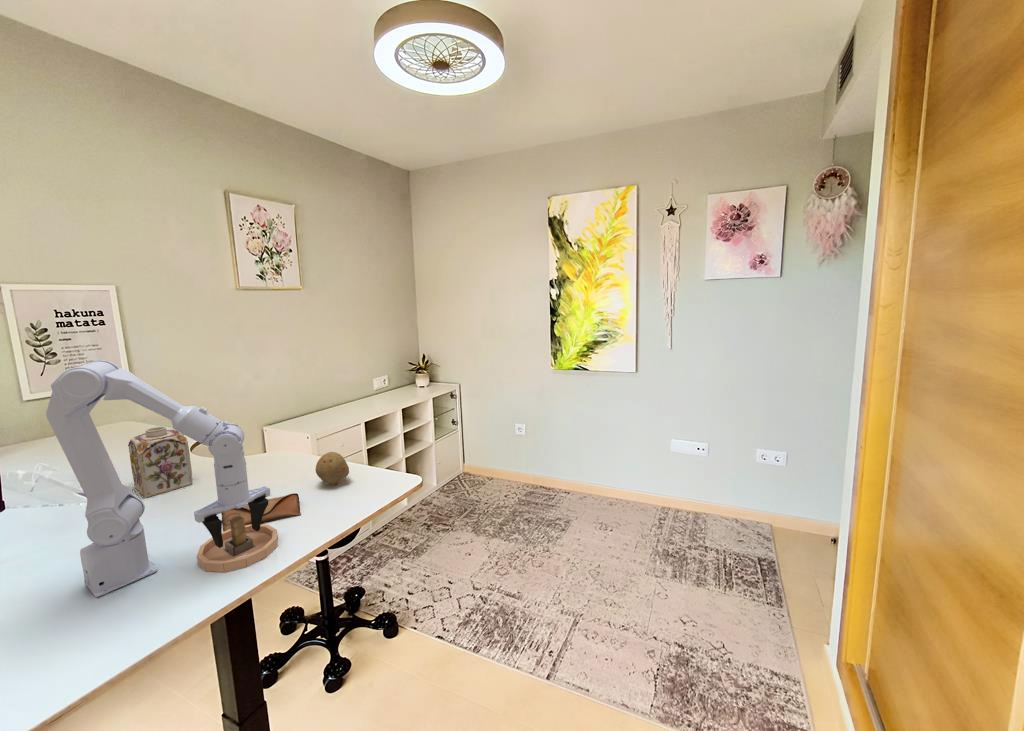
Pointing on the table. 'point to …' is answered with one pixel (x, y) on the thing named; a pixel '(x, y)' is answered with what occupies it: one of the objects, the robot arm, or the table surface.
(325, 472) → the coconut
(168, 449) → the decorative jar
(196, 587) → the table surface
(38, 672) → the table surface
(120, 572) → the robot arm
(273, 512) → the sunglasses case
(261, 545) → the jar dish
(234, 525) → the brown long rectangular block
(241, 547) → the hollow square box
